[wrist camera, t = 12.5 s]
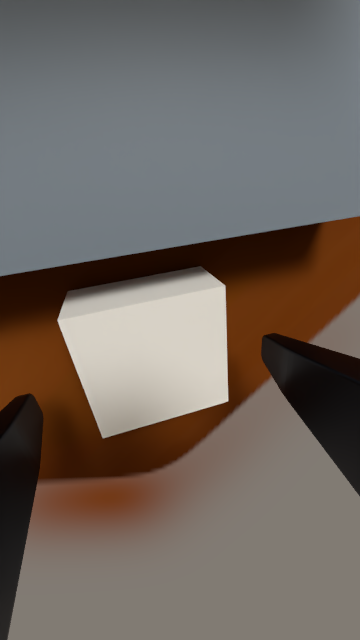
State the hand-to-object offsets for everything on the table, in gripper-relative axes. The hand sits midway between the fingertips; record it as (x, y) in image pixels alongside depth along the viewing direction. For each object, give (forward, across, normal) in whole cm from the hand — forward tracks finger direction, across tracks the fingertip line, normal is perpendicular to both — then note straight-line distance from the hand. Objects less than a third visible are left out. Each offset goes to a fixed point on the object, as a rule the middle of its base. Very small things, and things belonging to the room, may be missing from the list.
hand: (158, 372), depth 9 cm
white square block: (+3, 0, 0) cm, 3 cm away
